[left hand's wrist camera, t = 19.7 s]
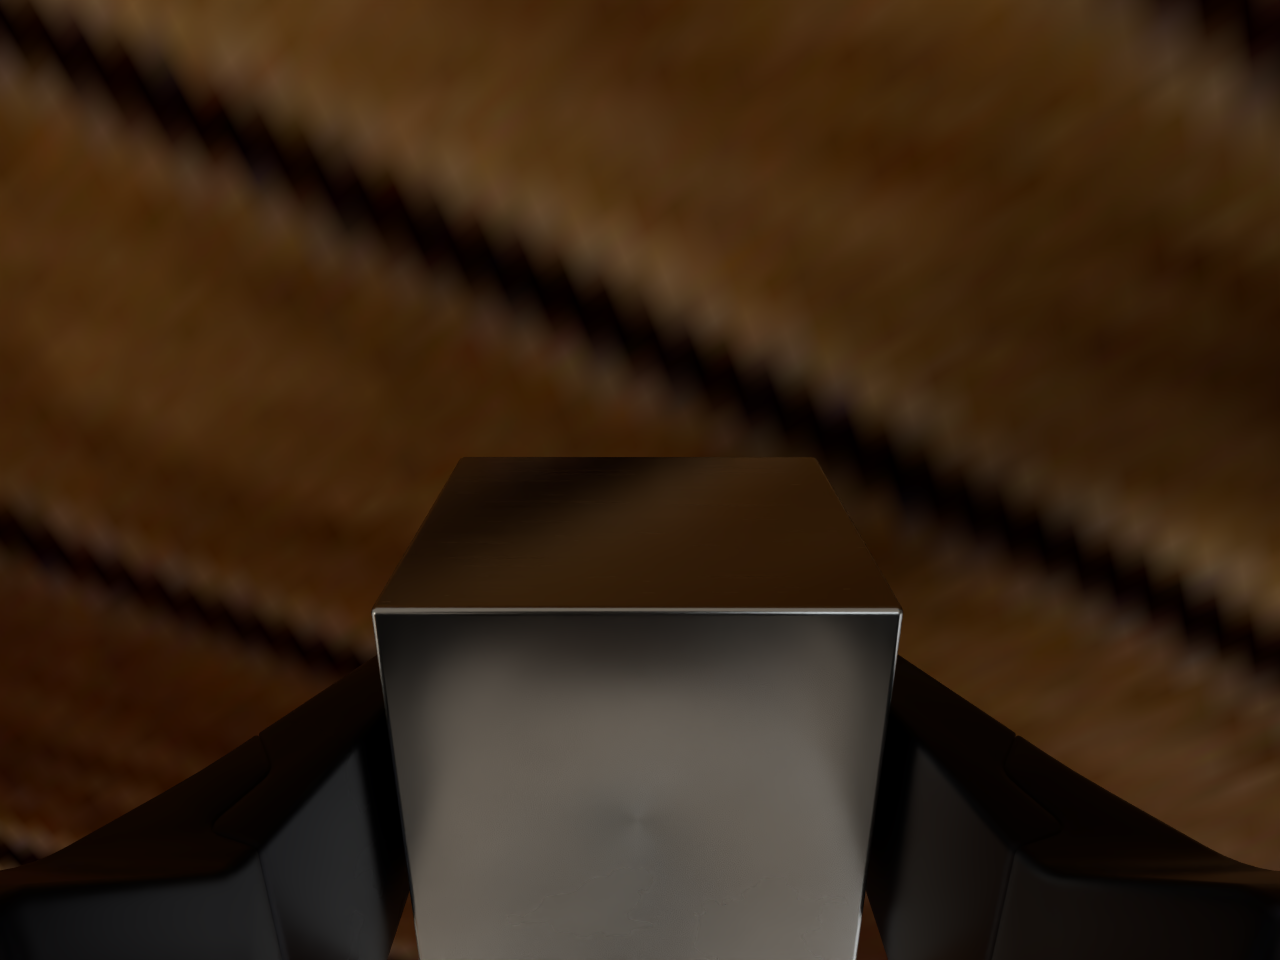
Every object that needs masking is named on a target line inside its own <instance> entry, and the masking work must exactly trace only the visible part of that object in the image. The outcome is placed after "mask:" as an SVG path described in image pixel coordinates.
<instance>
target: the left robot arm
mask: <svg viewBox="0 0 1280 960" xmlns="http://www.w3.org/2000/svg"><path fill="white" fill-rule="evenodd" d="M409 891H410V889H409V881H408V874H407V867H406V860H405V852H404V845H403V838H402V831H401V823H400V816H399V809H398V802H397V794H396V787H395V780H394V773H393V765H392V758H391V751H390V744H389V736H388V729H387V722H386V715H385V707H384V700H383V693H382V686H381V678H380V671H379V664H378V657H377V655H376V656H375V657H373V658H372V659H370V660H369V661H367V662H366V663H364V664H363V665H361V666H360V667H358V668H357V669H355V670H354V671H352V672H351V673H349V674H348V675H346V676H345V677H343V678H342V679H340V680H339V681H337V682H336V683H334V684H333V685H331V686H330V687H328V688H327V689H325V690H324V691H322V692H321V693H319V694H318V695H316V696H314V697H313V698H311V699H310V700H308V701H307V702H305V703H304V704H302V705H301V706H299V707H298V708H296V709H295V710H293V711H292V712H290V713H289V714H287V715H286V716H284V717H283V718H281V719H280V720H278V721H277V722H275V723H274V724H272V725H271V726H269V727H268V728H266V729H265V730H263V731H262V732H260V734H259V736H254V737H252V738H251V739H249V740H248V741H246V742H245V743H243V744H242V745H240V746H239V747H237V748H236V749H234V750H233V751H231V752H230V753H228V754H226V755H225V756H223V757H222V758H220V759H219V760H217V761H215V762H214V763H212V764H211V765H209V766H208V767H206V768H204V769H203V770H201V771H200V772H198V773H196V774H194V775H193V776H191V777H189V778H188V779H186V780H184V781H182V782H181V783H179V784H177V785H176V786H174V787H172V788H170V789H169V790H167V791H165V792H163V793H162V794H160V795H158V796H156V797H155V798H153V799H151V800H149V801H147V802H146V803H144V804H142V805H140V806H139V807H137V808H135V809H133V810H131V811H130V812H128V813H126V814H124V815H123V816H121V817H119V818H117V819H115V820H114V821H112V822H110V823H108V824H107V825H105V826H103V827H101V828H99V829H98V830H96V831H94V832H92V833H91V834H89V835H87V836H85V837H83V838H82V839H80V840H78V841H76V842H74V843H73V844H71V845H69V846H67V847H65V848H64V849H62V850H60V851H58V852H56V853H54V854H52V855H50V856H47V857H45V858H42V859H40V860H37V861H35V862H32V863H29V864H26V865H22V866H19V867H16V868H11V869H6V870H0V960H387V958H388V955H389V952H390V949H391V946H392V943H393V940H394V937H395V934H396V931H397V928H398V925H399V921H400V918H401V915H402V912H403V909H404V906H405V903H406V900H407V897H408V894H409ZM866 892H867V896H868V899H869V902H870V905H871V908H872V911H873V914H874V917H875V920H876V923H877V927H878V930H879V933H880V936H881V939H882V942H883V945H884V948H885V951H886V954H887V958H888V960H1280V871H1272V870H1267V869H1262V868H1257V867H1254V866H1251V865H1247V864H1244V863H1241V862H1238V861H1236V860H1233V859H1231V858H1228V857H1226V856H1223V855H1221V854H1219V853H1217V852H1216V851H1214V850H1212V849H1210V848H1208V847H1206V846H1204V845H1202V844H1201V843H1199V842H1197V841H1195V840H1194V839H1192V838H1190V837H1188V836H1186V835H1185V834H1183V833H1181V832H1179V831H1178V830H1176V829H1174V828H1172V827H1171V826H1169V825H1167V824H1165V823H1163V822H1162V821H1160V820H1158V819H1156V818H1155V817H1153V816H1151V815H1149V814H1148V813H1146V812H1144V811H1142V810H1141V809H1139V808H1137V807H1135V806H1133V805H1132V804H1130V803H1128V802H1126V801H1125V800H1123V799H1121V798H1119V797H1118V796H1116V795H1114V794H1112V793H1111V792H1109V791H1107V790H1105V789H1104V788H1102V787H1100V786H1099V785H1097V784H1095V783H1093V782H1092V781H1090V780H1088V779H1087V778H1085V777H1083V776H1081V775H1080V774H1078V773H1076V772H1075V771H1073V770H1071V769H1070V768H1068V767H1067V766H1065V765H1064V764H1062V763H1061V762H1059V761H1057V760H1056V759H1054V758H1053V757H1051V756H1050V755H1048V754H1046V753H1045V752H1043V751H1042V750H1040V749H1039V748H1037V747H1036V746H1034V745H1033V744H1031V743H1030V742H1028V741H1027V740H1025V739H1024V738H1022V737H1021V736H1016V734H1015V733H1014V732H1013V731H1012V730H1010V729H1009V728H1007V727H1006V726H1004V725H1003V724H1001V723H1000V722H998V721H997V720H995V719H994V718H992V717H991V716H989V715H988V714H986V713H985V712H983V711H982V710H980V709H979V708H977V707H976V706H974V705H973V704H971V703H970V702H968V701H967V700H965V699H964V698H962V697H961V696H959V695H958V694H956V693H955V692H953V691H952V690H950V689H949V688H947V687H946V686H944V685H943V684H941V683H940V682H938V681H937V680H935V679H934V678H932V677H931V676H929V675H928V674H926V673H925V672H923V671H922V670H920V669H919V668H917V667H916V666H914V665H913V664H911V663H910V662H908V661H907V660H905V659H904V658H902V657H901V656H899V655H898V654H897V662H896V669H895V676H894V684H893V691H892V699H891V706H890V713H889V721H888V728H887V736H886V743H885V750H884V758H883V765H882V773H881V780H880V787H879V795H878V802H877V810H876V817H875V824H874V832H873V839H872V847H871V854H870V861H869V869H868V876H867V884H866Z"/></svg>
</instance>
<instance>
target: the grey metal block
mask: <svg viewBox="0 0 1280 960" xmlns="http://www.w3.org/2000/svg"><path fill="white" fill-rule="evenodd" d="M371 613H372V620H373V628H374V635H375V642H376V649H377V657H378V664H379V671H380V678H381V686H382V693H383V700H384V707H385V715H386V722H387V729H388V736H389V744H390V751H391V758H392V765H393V773H394V780H395V787H396V794H397V802H398V809H399V816H400V823H401V831H402V838H403V845H404V852H405V860H406V867H407V874H408V881H409V889H410V896H411V903H412V910H413V918H414V925H415V932H416V939H417V947H418V954H419V960H856V957H857V950H858V943H859V935H860V928H861V920H862V913H863V906H864V898H865V891H866V884H867V876H868V869H869V861H870V854H871V847H872V839H873V832H874V824H875V817H876V810H877V802H878V795H879V787H880V780H881V773H882V765H883V758H884V750H885V743H886V736H887V728H888V721H889V713H890V706H891V699H892V691H893V684H894V676H895V669H896V662H897V654H898V647H899V640H900V632H901V625H902V617H903V610H902V607H901V605H900V604H899V602H898V600H897V598H896V597H895V595H894V593H893V591H892V590H891V588H890V586H889V585H888V583H887V581H886V579H885V578H884V576H883V574H882V572H881V571H880V569H879V567H878V565H877V564H876V562H875V560H874V558H873V557H872V555H871V553H870V552H869V550H868V548H867V546H866V545H865V543H864V541H863V539H862V538H861V536H860V534H859V532H858V531H857V529H856V527H855V525H854V524H853V522H852V520H851V519H850V517H849V515H848V513H847V512H846V510H845V508H844V506H843V505H842V503H841V501H840V499H839V498H838V496H837V494H836V492H835V491H834V489H833V487H832V485H831V484H830V482H829V480H828V479H827V477H826V475H825V473H824V472H823V470H822V468H821V466H820V465H819V463H818V461H817V459H816V458H813V457H463V458H461V459H460V460H459V462H458V464H457V466H456V467H455V469H454V471H453V472H452V474H451V476H450V477H449V479H448V481H447V482H446V484H445V486H444V488H443V489H442V491H441V493H440V494H439V496H438V498H437V499H436V501H435V503H434V504H433V506H432V508H431V510H430V511H429V513H428V515H427V516H426V518H425V520H424V521H423V523H422V525H421V527H420V528H419V530H418V532H417V533H416V535H415V537H414V538H413V540H412V542H411V543H410V545H409V547H408V549H407V550H406V552H405V554H404V555H403V557H402V559H401V560H400V562H399V564H398V565H397V567H396V569H395V571H394V572H393V574H392V576H391V577H390V579H389V581H388V582H387V584H386V586H385V587H384V589H383V591H382V593H381V594H380V596H379V598H378V599H377V601H376V603H375V604H374V606H373V608H372V611H371Z"/></svg>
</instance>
